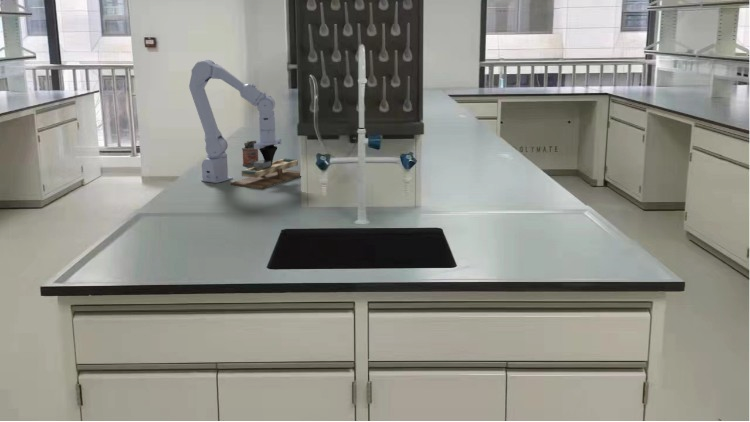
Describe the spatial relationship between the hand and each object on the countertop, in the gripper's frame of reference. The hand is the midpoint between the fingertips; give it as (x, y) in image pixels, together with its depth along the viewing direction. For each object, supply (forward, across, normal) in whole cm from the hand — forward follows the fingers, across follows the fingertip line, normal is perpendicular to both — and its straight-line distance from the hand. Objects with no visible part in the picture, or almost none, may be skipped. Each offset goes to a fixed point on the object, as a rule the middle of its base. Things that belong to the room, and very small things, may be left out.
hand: (268, 165), depth 269 cm
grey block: (+1, -4, 0) cm, 4 cm away
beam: (+1, +1, 0) cm, 2 cm away
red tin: (+6, +21, +25) cm, 33 cm away
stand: (+5, +1, 0) cm, 6 cm away
